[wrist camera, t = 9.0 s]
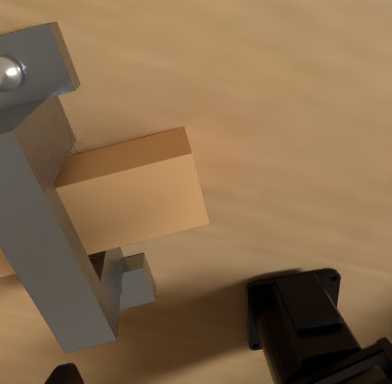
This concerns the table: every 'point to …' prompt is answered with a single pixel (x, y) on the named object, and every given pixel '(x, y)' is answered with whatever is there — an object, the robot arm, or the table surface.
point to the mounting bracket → (54, 200)
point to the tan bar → (130, 192)
